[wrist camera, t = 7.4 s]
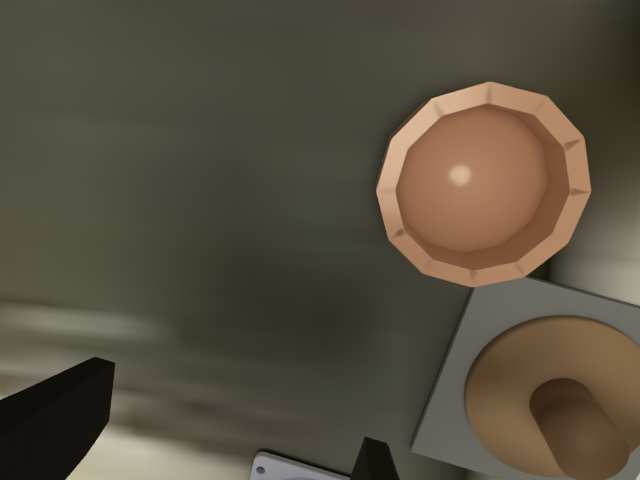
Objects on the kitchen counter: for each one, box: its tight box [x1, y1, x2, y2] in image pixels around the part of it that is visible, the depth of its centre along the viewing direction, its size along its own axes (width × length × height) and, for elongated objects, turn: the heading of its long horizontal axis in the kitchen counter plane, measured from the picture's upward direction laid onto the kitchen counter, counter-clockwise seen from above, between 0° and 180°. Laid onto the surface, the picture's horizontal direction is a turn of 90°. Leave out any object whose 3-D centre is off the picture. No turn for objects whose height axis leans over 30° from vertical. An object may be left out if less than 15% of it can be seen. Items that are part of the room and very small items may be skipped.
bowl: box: [376, 82, 591, 287], centre depth 18 cm, size 8×8×3 cm
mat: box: [410, 275, 640, 480], centre depth 22 cm, size 11×11×1 cm
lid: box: [464, 315, 640, 480], centre depth 20 cm, size 9×9×4 cm
